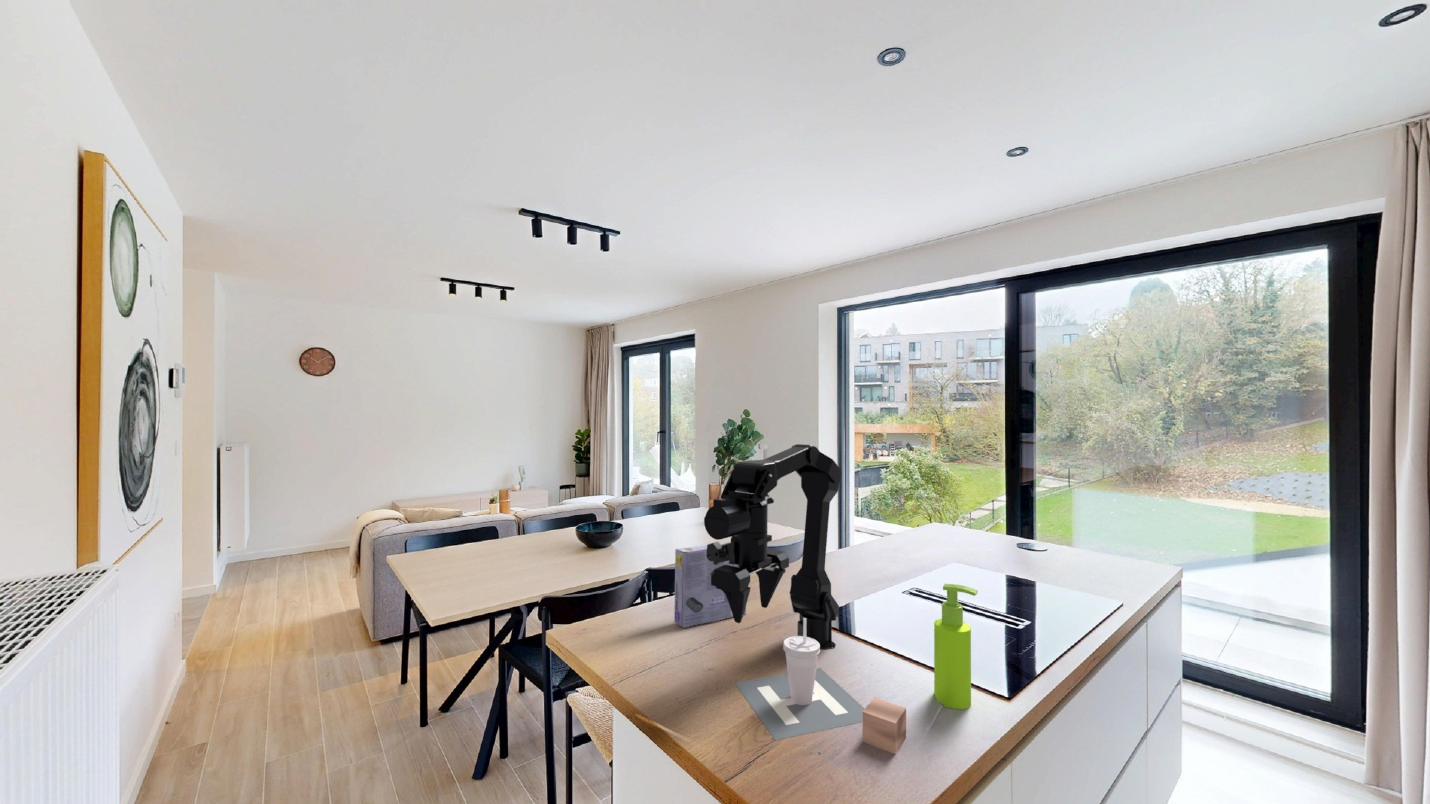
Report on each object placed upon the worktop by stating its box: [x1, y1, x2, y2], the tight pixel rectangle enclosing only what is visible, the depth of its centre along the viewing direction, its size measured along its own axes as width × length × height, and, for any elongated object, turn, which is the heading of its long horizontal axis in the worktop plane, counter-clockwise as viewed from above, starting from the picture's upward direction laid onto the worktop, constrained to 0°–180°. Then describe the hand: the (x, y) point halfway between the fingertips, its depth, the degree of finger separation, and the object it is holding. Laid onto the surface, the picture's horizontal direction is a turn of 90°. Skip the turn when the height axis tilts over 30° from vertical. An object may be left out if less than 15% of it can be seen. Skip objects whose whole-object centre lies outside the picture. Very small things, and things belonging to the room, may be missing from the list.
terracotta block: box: [862, 697, 907, 755], centre depth 81 cm, size 5×5×5 cm
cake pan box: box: [673, 542, 747, 629], centre depth 129 cm, size 19×5×18 cm, turn 121°
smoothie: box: [782, 618, 821, 705], centre depth 92 cm, size 6×6×14 cm
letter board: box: [733, 667, 866, 741], centre depth 92 cm, size 18×18×1 cm
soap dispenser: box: [933, 583, 979, 710], centre depth 93 cm, size 6×7×20 cm
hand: (751, 614), depth 98 cm, fingers open, 9 cm apart
